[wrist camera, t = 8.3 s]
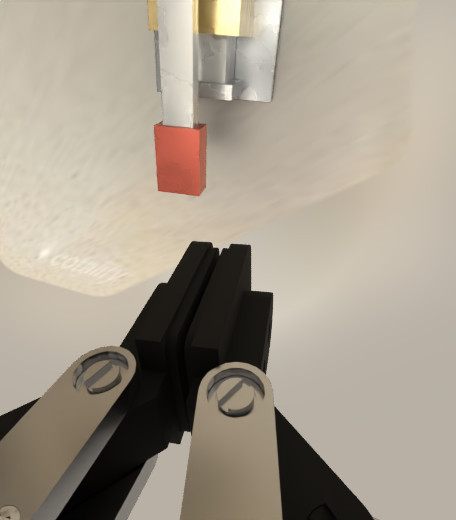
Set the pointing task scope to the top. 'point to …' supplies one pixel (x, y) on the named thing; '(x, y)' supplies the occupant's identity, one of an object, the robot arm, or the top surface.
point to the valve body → (232, 47)
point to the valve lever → (179, 101)
